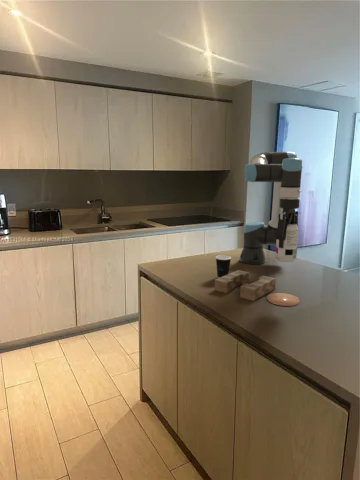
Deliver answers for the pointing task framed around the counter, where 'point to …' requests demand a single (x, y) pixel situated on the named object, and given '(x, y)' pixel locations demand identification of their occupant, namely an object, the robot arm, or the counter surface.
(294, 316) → the counter surface
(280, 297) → the peach smooth rounded piece
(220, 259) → the dixie cup
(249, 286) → the walnut caddy
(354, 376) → the counter surface
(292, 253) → the supplement can
